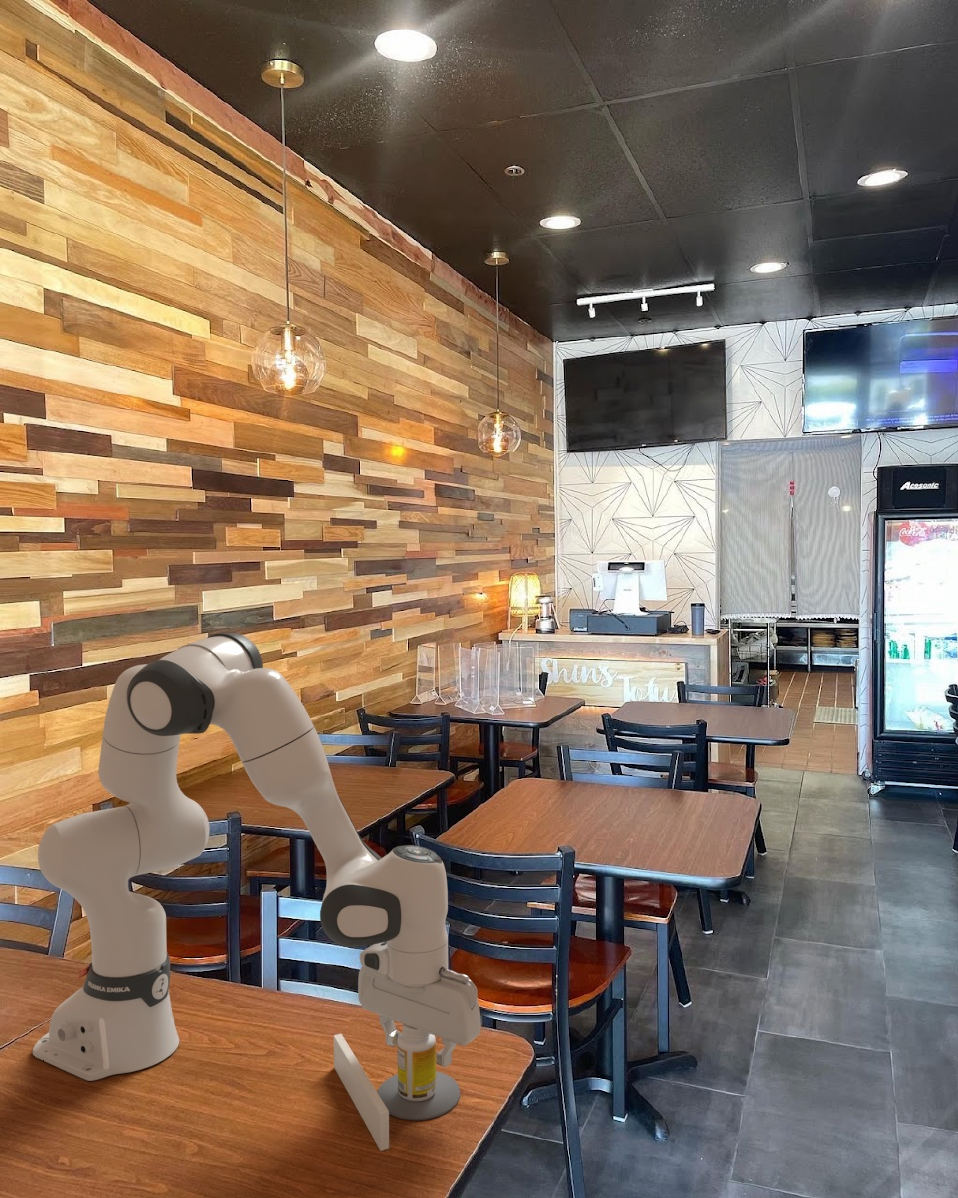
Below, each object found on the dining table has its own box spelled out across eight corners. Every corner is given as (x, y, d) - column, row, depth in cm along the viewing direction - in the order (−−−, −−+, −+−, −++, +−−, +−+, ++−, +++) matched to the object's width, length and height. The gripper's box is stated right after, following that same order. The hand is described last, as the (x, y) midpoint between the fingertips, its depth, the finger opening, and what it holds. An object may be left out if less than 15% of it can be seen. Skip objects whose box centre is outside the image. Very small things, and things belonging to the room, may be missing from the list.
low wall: (389, 1148, 120) (388, 1111, 120) (380, 1151, 120) (380, 1113, 119) (341, 1065, 140) (341, 1033, 140) (334, 1067, 140) (333, 1035, 139)
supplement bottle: (442, 1086, 134) (442, 1018, 133) (425, 1107, 128) (425, 1036, 128) (408, 1078, 136) (408, 1010, 135) (390, 1098, 131) (390, 1028, 130)
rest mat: (362, 1110, 129) (362, 1107, 129) (398, 1066, 140) (398, 1063, 140) (441, 1128, 124) (441, 1125, 124) (472, 1081, 136) (472, 1078, 136)
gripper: (489, 970, 128) (489, 1067, 128) (379, 936, 140) (380, 1025, 140) (463, 987, 123) (463, 1088, 123) (351, 951, 135) (351, 1042, 135)
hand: (418, 1054), depth 132 cm, fingers open, 8 cm apart
